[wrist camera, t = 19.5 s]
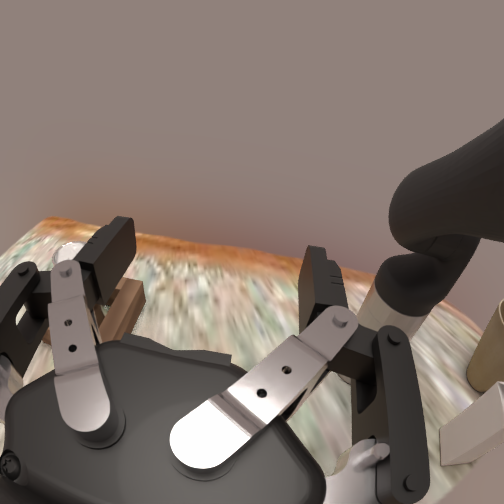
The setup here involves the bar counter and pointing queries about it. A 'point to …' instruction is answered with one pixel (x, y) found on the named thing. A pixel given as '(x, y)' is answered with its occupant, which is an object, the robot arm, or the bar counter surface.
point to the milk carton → (474, 429)
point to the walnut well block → (119, 311)
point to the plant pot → (489, 354)
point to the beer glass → (69, 253)
